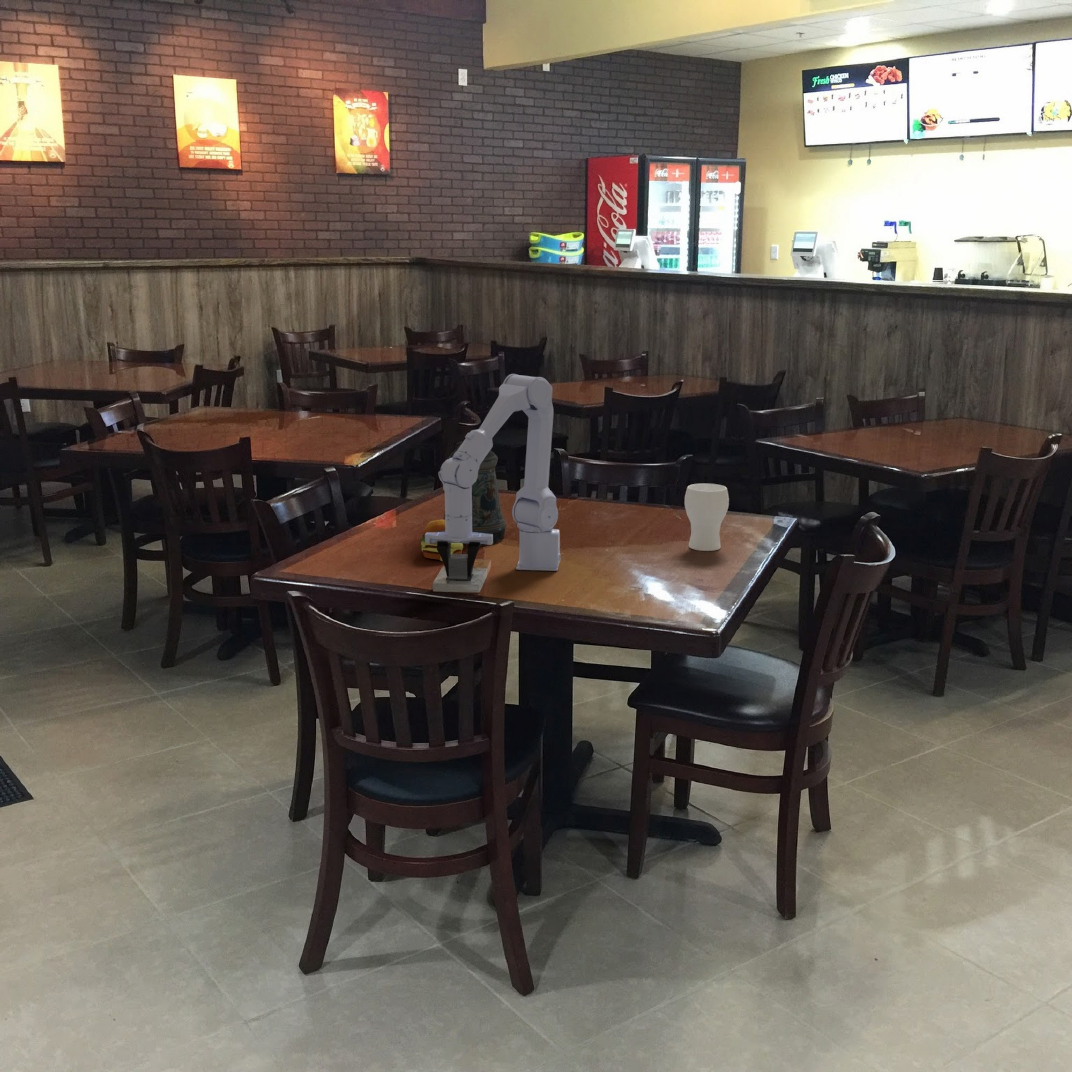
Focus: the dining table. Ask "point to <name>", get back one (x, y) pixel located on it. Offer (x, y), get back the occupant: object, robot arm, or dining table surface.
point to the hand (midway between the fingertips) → (459, 575)
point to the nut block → (458, 567)
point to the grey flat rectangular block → (473, 585)
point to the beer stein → (486, 500)
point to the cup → (706, 514)
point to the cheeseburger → (430, 548)
